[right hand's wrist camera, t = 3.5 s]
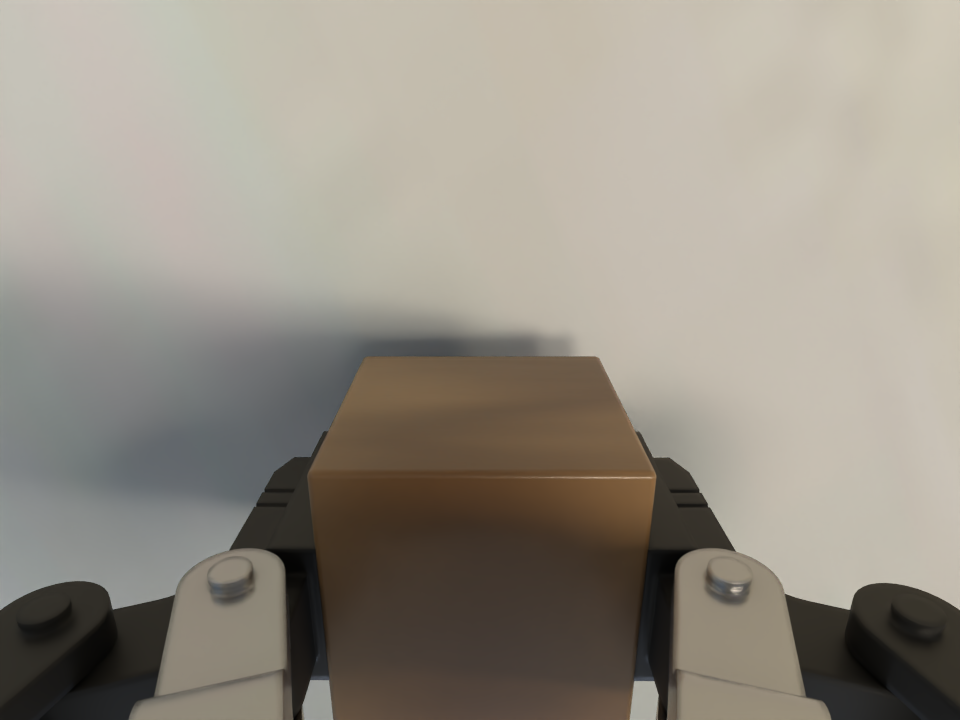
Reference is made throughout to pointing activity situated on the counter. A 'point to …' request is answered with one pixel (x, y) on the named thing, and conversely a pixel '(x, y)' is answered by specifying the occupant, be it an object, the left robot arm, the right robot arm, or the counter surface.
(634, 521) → the block
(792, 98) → the counter surface
